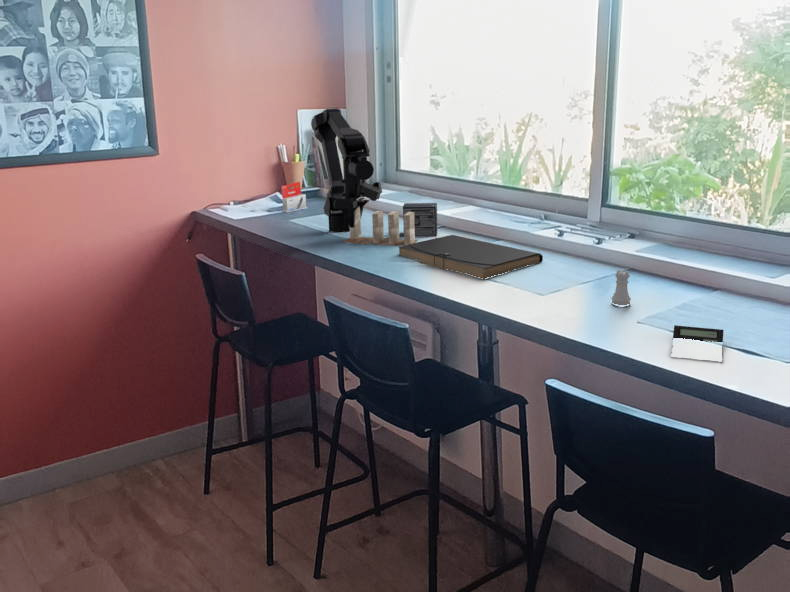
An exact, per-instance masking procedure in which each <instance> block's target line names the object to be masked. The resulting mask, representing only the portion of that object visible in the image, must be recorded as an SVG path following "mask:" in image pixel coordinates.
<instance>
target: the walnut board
mask: <svg viewBox="0 0 790 592" xmlns="http://www.w3.org/2000/svg"><path fill="white" fill-rule="evenodd" d="M417 242H419V239H415V241H414V242H413V243H417ZM342 243H343V244H344V243H345V244H359V245H361V244H362V245H377V246H378V245H379V246H397V247H401V246H406V245H404V238H399V241H398V242H396V243H395V244H389V237H388V238H386V237H384V240H383V241H381V242H380V243H373V237H370V236H369V237H367V236H366V237H365V236H359V237H358V238H356V239H350V237H348V238H346V239H345V240H344V241H342Z"/></svg>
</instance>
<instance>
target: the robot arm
mask: <svg viewBox="0 0 790 592" xmlns="http://www.w3.org/2000/svg"><path fill="white" fill-rule="evenodd" d="M310 125H311V129H312V131H313V133H314V136H315V138H316V139H317V140H318V141H319V142H320V144H321V148H322V152H323V158H324V164H325V167H326V173H327V178H328V184H329V187H328V190H327V193H326V199H325V203H324V205H323V212H324V215H325V216H327V217H328V231H327V232H326V233H327V234H328V233H330V232H332V233H350V227H351V228H353V227H354V224H355V213H356V210H357V209H358V208H359V207H360V218H361V219H362V216H363V211H364V208H365V206H366V205H367V204H368V203H369V202H370V201H372V202H376V201H377V200H379V199H380V196H381V194H382V193H383V188H382V184H381V182H378V181H374V182H373V184H372V183H367V182H366V181H367V180H368V179H371V177H372V176H373V174H374V170H375V169H374V165H373V164H372V163H371V161H369V160H368V157H370V148H369V146H368V143H367V141H366V138H365V136H364V135H363V134H362V132H360V131H359V130H357V129H354V128H352V127H351V126H350V124H349V123H348V122H347V120H346V119H345V117H344V116H343V115H342V111H341V109H340V108H326V109H324V110H322V112H320V113H318V114H315V115H314V116H313V117H312V118H311V122H310ZM336 138H338V140H337V141H336ZM337 146H338V147H337ZM338 150H339V151H338ZM339 152H340V154H341V159H342V166H341V161H340V156H339ZM342 168H343V169H342ZM342 170H343V171H342Z"/></svg>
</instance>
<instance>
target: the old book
mask: <svg viewBox="0 0 790 592" xmlns="http://www.w3.org/2000/svg"><path fill="white" fill-rule="evenodd" d="M398 249H399V250H398V254H399V256H401V257H405V258H408V259H412V260H413V262H415V263H418V264H422V265H426V266H428V267H429V266H431V267H434V266H435V267H434V268H439V269H442V268H443V269H444V270H445V269H448V270H447V271H449V270H453V271H452V272H454V271H458V272H457V273H459V272H462V273H461V274H463V273H467V274H470V275H473V276H476V277H480V278H483V279H482V280H484V279H485V278H487V277H491V276H494V275H498V274H502V273H505V272H508V271H511V272H513V271H512V270H514V269H518V268H521V267H525V266H527V265H532V264H535V265H537V264H536V263H538V264H540V262H541V263H543V259H544V256H543V255H542V253H539V252H534V251H529V250H526V249H521V248H515V247H511V246H506V245H502V244H497V243H492V242H489V241H484V240H479V239H474V238H470V237H465V236H460V235H456V234H450V235H444V236H440V237H434V238H430V239H427V240H422V241H417V242H415V243H412V244H409V245H406V246H398ZM415 260H416V261H415ZM532 266H533V265H532ZM525 268H526V267H525ZM443 269H442V270H443ZM518 270H519V269H518ZM470 275H469V276H470ZM473 276H472V277H473ZM476 277H475V278H476ZM480 278H479V279H480Z"/></svg>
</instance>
